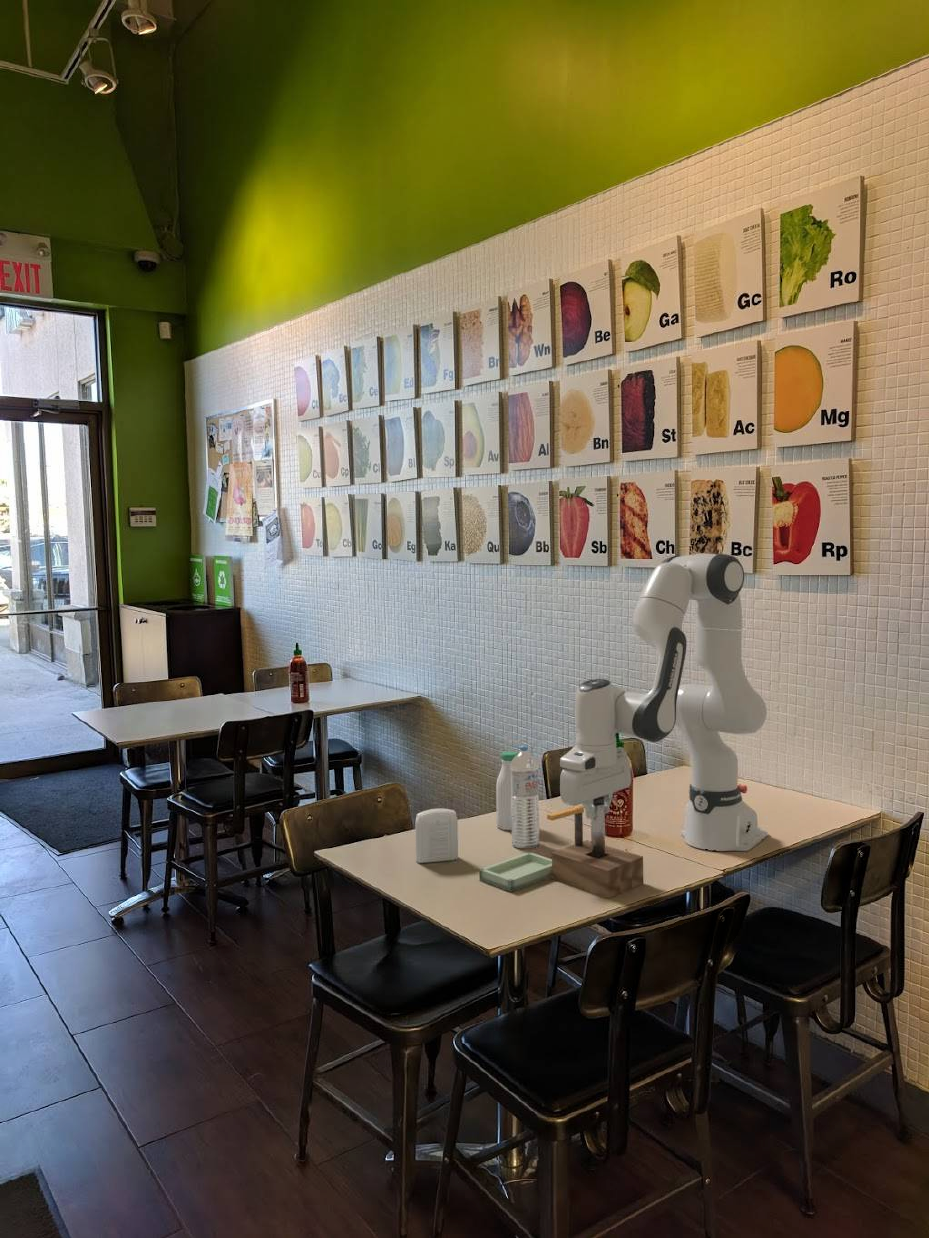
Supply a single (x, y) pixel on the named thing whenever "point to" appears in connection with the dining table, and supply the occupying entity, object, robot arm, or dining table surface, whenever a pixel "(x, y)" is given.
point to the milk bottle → (504, 792)
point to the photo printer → (436, 835)
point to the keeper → (565, 813)
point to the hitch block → (596, 866)
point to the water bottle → (524, 800)
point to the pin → (598, 828)
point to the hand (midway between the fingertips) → (597, 815)
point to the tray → (517, 872)
